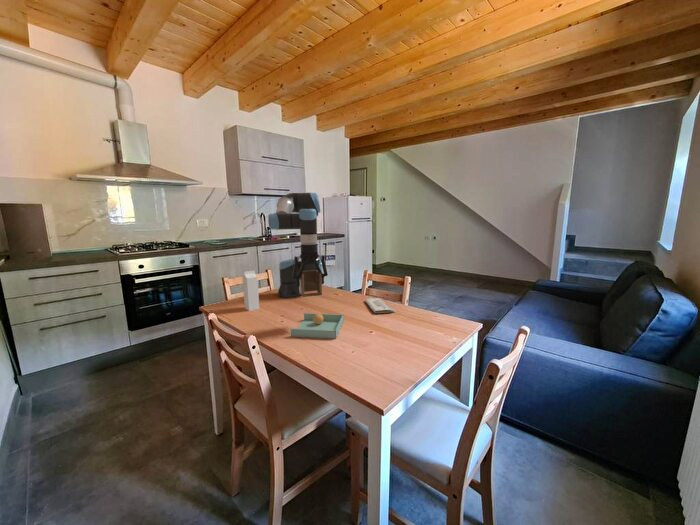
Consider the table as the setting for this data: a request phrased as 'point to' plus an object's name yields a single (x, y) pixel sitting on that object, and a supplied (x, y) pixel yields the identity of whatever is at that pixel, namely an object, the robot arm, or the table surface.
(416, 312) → the table surface
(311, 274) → the sleeve
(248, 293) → the milk
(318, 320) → the ball
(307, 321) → the tray
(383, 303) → the newspaper
